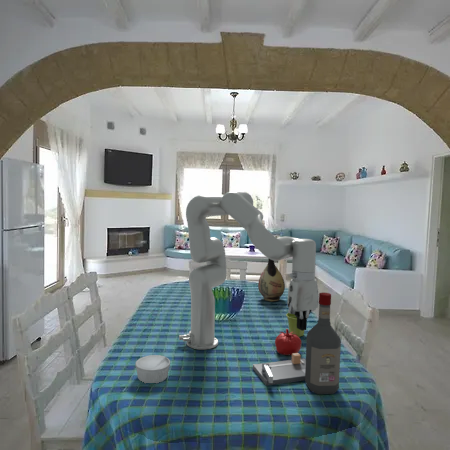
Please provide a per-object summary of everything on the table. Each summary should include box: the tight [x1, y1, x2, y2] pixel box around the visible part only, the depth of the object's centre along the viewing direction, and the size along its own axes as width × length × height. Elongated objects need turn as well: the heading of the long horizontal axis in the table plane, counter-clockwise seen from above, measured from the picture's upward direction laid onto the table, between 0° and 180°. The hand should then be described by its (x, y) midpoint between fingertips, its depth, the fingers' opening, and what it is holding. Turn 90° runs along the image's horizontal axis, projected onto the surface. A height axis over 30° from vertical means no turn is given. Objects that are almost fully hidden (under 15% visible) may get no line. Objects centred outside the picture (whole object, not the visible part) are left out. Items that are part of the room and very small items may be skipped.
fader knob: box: [291, 352, 302, 364], centre depth 131 cm, size 2×2×3 cm
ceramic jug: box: [257, 258, 286, 302], centre depth 216 cm, size 17×15×30 cm
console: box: [252, 357, 306, 387], centre depth 127 cm, size 20×12×2 cm, turn 107°
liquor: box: [304, 292, 342, 395], centre depth 117 cm, size 9×9×30 cm
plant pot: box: [285, 312, 305, 338], centre depth 163 cm, size 9×9×9 cm
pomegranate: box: [274, 328, 302, 356], centre depth 144 cm, size 10×10×9 cm
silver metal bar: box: [262, 362, 273, 383], centre depth 121 cm, size 9×2×2 cm, turn 6°
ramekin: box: [135, 354, 171, 384], centre depth 123 cm, size 11×11×5 cm
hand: (301, 328), depth 127 cm, fingers closed
